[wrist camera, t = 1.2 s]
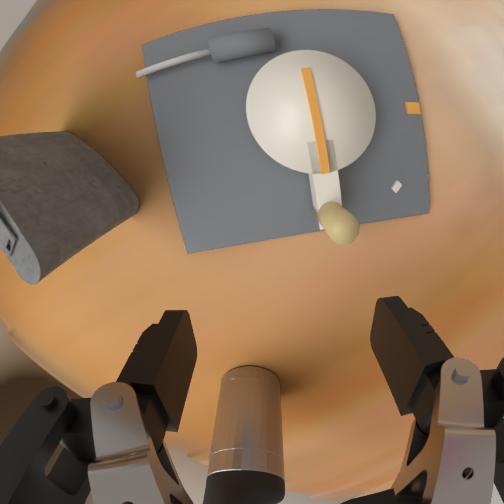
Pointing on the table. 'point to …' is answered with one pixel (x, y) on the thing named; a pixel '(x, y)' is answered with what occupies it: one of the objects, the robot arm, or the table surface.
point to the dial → (314, 126)
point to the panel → (249, 151)
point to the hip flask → (56, 200)
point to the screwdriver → (224, 49)
